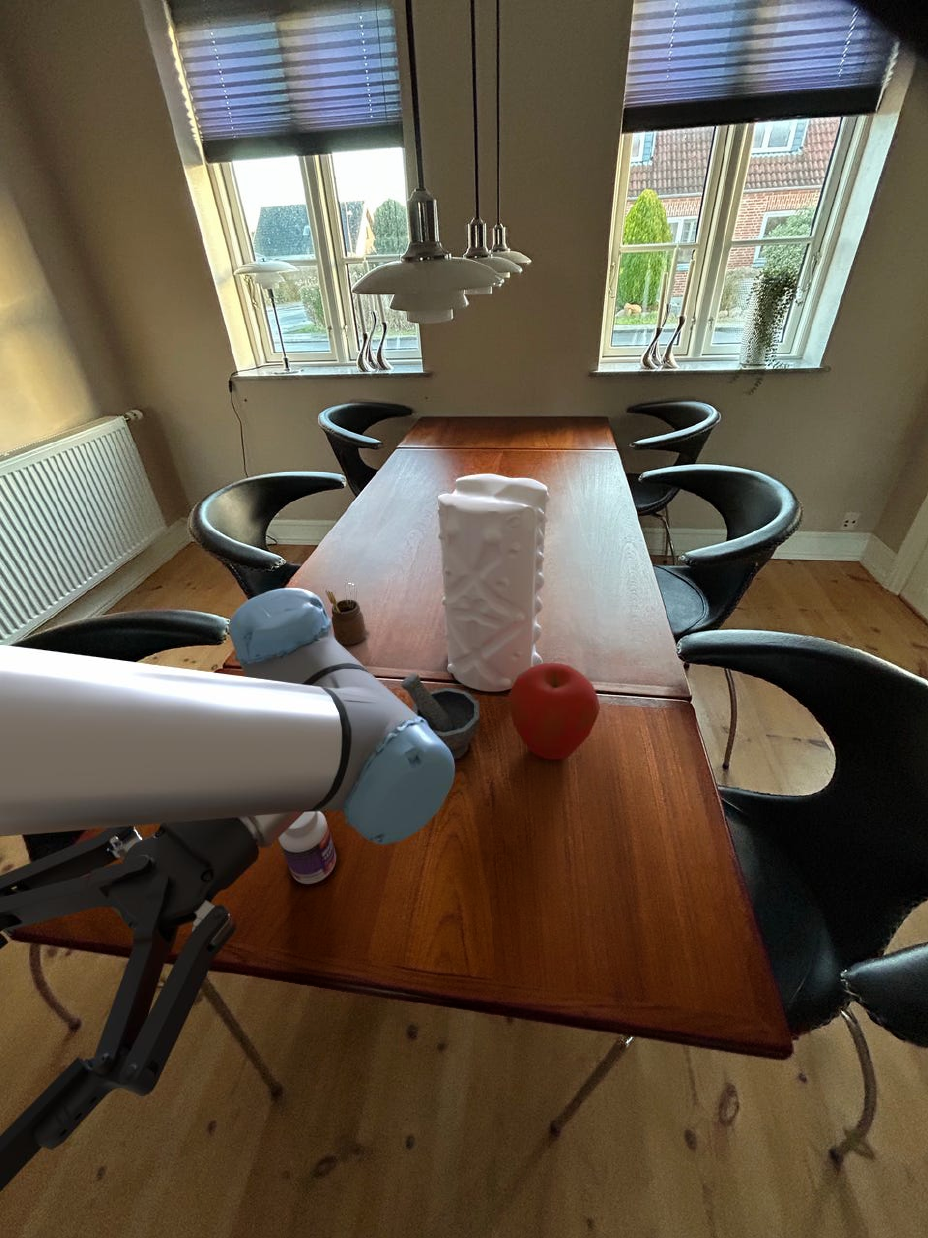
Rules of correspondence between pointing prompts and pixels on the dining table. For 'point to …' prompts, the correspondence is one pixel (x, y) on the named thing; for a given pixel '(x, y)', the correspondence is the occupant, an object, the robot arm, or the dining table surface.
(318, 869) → the pill bottle
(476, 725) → the mortar and pestle
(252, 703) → the robot arm
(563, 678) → the apple
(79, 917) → the dining table surface
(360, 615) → the utensil holder
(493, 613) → the vase
